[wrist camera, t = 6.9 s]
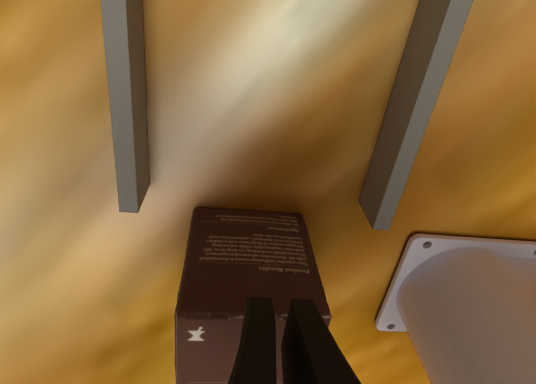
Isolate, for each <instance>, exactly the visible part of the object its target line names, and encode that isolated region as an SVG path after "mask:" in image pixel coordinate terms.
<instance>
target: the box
mask: <svg viewBox="0 0 536 384" xmlns="http://www.w3.org/2000/svg"><path fill="white" fill-rule="evenodd" d="M249 297H267V298H271V299H272V304H273V308H274V314H275V320H276V375H277V384H283V376H282V357H281V342H282V338H283V333H284V329H285V325H286V320H287V316H288V312H289V307H290V303H291V299H311V300H313V301H314V302H315V304H316V306H317V308H318V310H319V312H320V314H321V316H322V318H323V320H324V322H325V323H326V325H327V327H328V326H329V323H330V320H331V314H330V310H329V306H328V304H327V301H326V297H325V292H324V288H323V286H322V282H321V279H320V276H319V272H318V268H317V265H316V261H315V257H314V254H313V250H312V246H311V243H310V239H309V235H308V232H307V228H306V225H305V222H304V219H303V217H302V214H290V213H275V212H257V211H241V210H226V209H209V208H195V209H194V210H193V214H192V219H191V225H190V231H189V237H188V243H187V249H186V256H185V261H184V268H183V273H182V278H181V282H180V287H179V291H178V298H177V306H176V310H175V370H176V384H228V381H229V378H230V375H231V372H232V369H233V366H234V363H235V359H236V356H237V352H238V348H239V345H240V338H241V330H242V323H243V316H244V309H245V302H246V299H247V298H249Z"/></svg>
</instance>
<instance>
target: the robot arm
mask: <svg viewBox="0 0 536 384" xmlns="http://www.w3.org/2000/svg"><path fill="white" fill-rule="evenodd" d="M425 242H428V243H426V244H424V243H425ZM375 325H376V328H377V329H378V330H380V331H399V332H408V334H409V336H410V339H411V341H412V343H413V345H414V347H415V350H416V352H417V354H418V356H419V358H420V361H421V363H422V365H423V367H424V369H425V372H426V374H427V376H428V378H429V380H430V383H431V384H536V242H532V241H518V240H503V239H489V238H474V237H459V236H445V235H430V234H415V235H413V236H412V237H410V239H409V240H408V243H407V245H406V248H405V250H404V253H403V255H402V258H401V260H400V262H399V265H398V267H397V270H396V272H395V275H394V277H393V280H392V282H391V284H390V287H389V289H388V292H387V294H386V297H385V299H384V301H383V304H382V306H381V309H380V311H379V314H378V316H377V319H376V321H375ZM281 357H282V376H283V384H361V383H360V381H359V379H358V378H357V376H356V375H355V373H354V372H353V370H352V368H351V367H350V365H349V363H348V362H347V360H346V359H345V357H344V355H343V354H342V352H341V350H340V349H339V347H338V345H337V343H336V342H335V340H334V338H333V336H332V334H331V333H330V331H329V329H328V327H327V325H326V323H325V322H324V320H323V318H322V316H321V314H320V312H319V310H318V308H317V306H316V304H315V302H314V301H313V300H311V299H291V303H290V307H289V312H288V316H287V320H286V325H285V329H284V333H283V338H282V342H281ZM228 384H277V375H276V320H275V314H274V308H273V304H272V299H271V298H267V297H249V298H247V299H246V302H245V309H244V316H243V323H242V330H241V338H240V345H239V348H238V352H237V356H236V359H235V363H234V366H233V369H232V372H231V375H230V378H229V381H228Z"/></svg>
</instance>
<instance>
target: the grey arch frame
mask: <svg viewBox="0 0 536 384" xmlns="http://www.w3.org/2000/svg"><path fill="white" fill-rule="evenodd" d="M472 3H473V0H420V1H419V4H418V7H417V11H416V14H415V17H414V21H413V24H412V27H411V30H410V34H409V37H408V40H407V44H406V47H405V50H404V54H403V57H402V60H401V64H400V67H399V70H398V73H397V77H396V80H395V83H394V87H393V90H392V93H391V97H390V100H389V103H388V106H387V110H386V113H385V116H384V120H383V123H382V126H381V130H380V133H379V136H378V140H377V143H376V146H375V149H374V153H373V156H372V159H371V163H370V166H369V169H368V173H367V176H366V179H365V182H364V186H363V189H362V192H361V196H360V199H359V203H360V205H361V207H362V209H363V211H364V213H365V215H366V217H367V219H368V221H369V223H370V225H371V227H372V229H377V230H389V228H390V225H391V222H392V220H393V217H394V214H395V211H396V209H397V206H398V203H399V201H400V198H401V195H402V192H403V190H404V187H405V184H406V182H407V179H408V176H409V173H410V171H411V168H412V165H413V163H414V160H415V157H416V155H417V152H418V149H419V146H420V144H421V141H422V138H423V136H424V133H425V130H426V127H427V125H428V122H429V119H430V117H431V114H432V111H433V108H434V106H435V103H436V100H437V98H438V95H439V92H440V89H441V87H442V84H443V81H444V79H445V76H446V73H447V70H448V68H449V65H450V62H451V60H452V57H453V54H454V51H455V49H456V46H457V43H458V41H459V38H460V35H461V32H462V30H463V27H464V24H465V22H466V19H467V16H468V13H469V11H470V8H471V5H472ZM101 11H102V22H103V33H104V44H105V56H106V67H107V78H108V89H109V100H110V112H111V123H112V134H113V145H114V156H115V167H116V179H117V190H118V201H119V212H130V213H138V212H139V209H140V207H141V205H142V202H143V200H144V197H145V195H146V192H147V190H148V188H149V185H150V183H149V157H148V130H147V104H146V77H145V51H144V24H143V0H101Z"/></svg>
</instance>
